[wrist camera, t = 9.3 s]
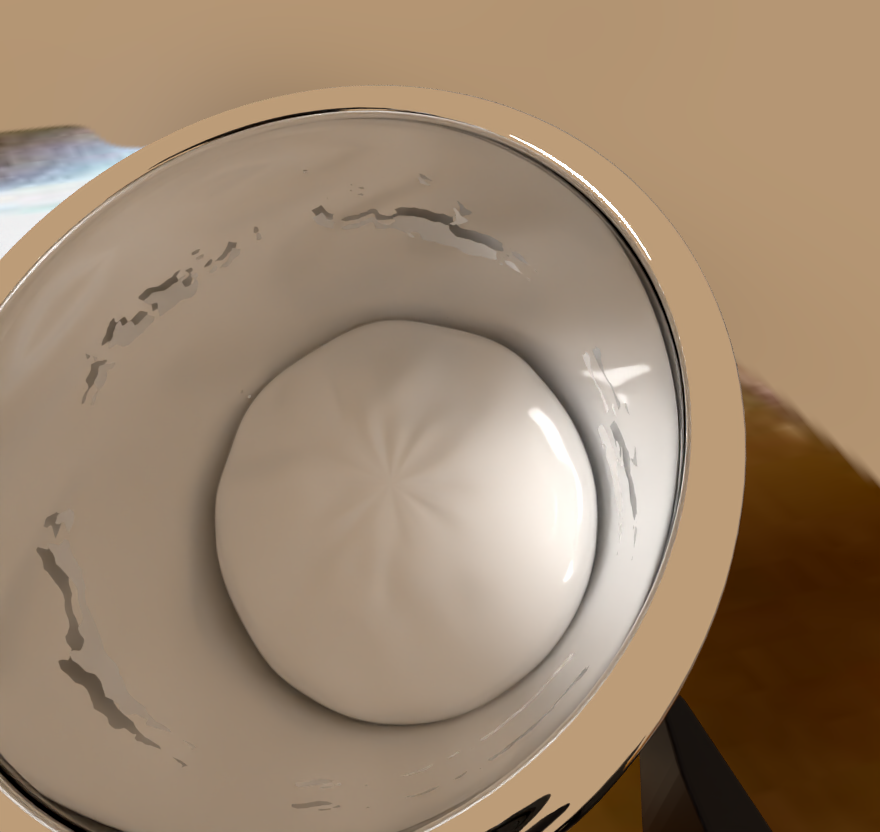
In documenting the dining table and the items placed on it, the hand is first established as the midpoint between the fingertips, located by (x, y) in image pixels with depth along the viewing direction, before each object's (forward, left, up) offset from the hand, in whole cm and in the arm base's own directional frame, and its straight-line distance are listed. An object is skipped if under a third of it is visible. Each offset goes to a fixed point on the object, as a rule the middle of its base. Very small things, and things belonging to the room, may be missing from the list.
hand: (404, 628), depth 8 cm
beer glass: (+2, -1, -9) cm, 9 cm away
